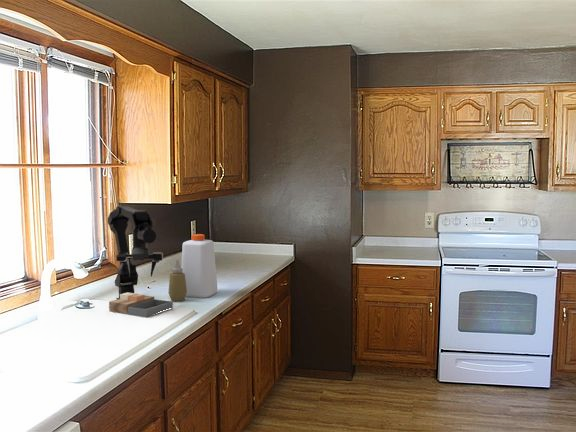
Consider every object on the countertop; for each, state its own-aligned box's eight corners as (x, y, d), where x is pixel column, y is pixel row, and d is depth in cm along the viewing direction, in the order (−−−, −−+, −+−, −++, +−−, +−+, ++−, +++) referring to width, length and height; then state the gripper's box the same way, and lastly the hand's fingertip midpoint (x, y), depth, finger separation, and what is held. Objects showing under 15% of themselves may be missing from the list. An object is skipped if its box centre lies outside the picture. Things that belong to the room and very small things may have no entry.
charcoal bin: (127, 314, 237) (127, 307, 237) (154, 306, 251) (154, 299, 251) (146, 317, 232) (146, 309, 232) (172, 308, 246) (172, 301, 246)
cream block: (120, 299, 246) (119, 294, 246) (127, 296, 250) (127, 292, 250) (128, 300, 244) (127, 295, 244) (135, 298, 248) (135, 293, 248)
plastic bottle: (207, 299, 264) (206, 237, 262) (176, 297, 268) (175, 236, 266) (220, 292, 278) (219, 233, 276) (191, 290, 283) (190, 232, 280)
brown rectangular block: (109, 311, 242) (109, 301, 242) (136, 303, 256) (136, 294, 256) (127, 314, 237) (127, 304, 237) (154, 305, 251) (154, 296, 251)
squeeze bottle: (178, 303, 256) (177, 262, 254) (164, 301, 260) (163, 260, 259) (190, 299, 263) (190, 259, 261) (177, 297, 267) (176, 258, 265)
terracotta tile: (128, 300, 244) (128, 295, 244) (136, 298, 248) (136, 293, 248) (136, 301, 242) (136, 296, 242) (144, 299, 246) (144, 294, 246)
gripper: (114, 243, 239) (114, 280, 241) (160, 242, 242) (161, 280, 243) (118, 239, 250) (118, 275, 252) (162, 239, 253) (163, 274, 254)
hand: (140, 276), depth 250 cm, fingers open, 9 cm apart
